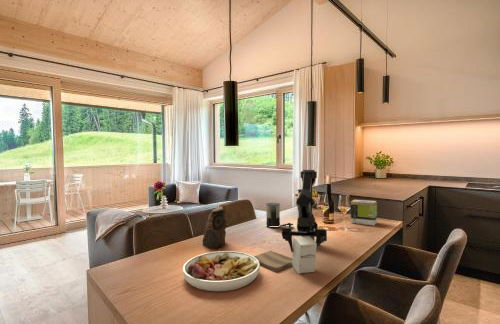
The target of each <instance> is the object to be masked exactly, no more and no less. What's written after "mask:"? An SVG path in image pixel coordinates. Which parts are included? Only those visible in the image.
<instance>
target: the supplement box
mask: <svg viewBox="0 0 500 324" xmlns="http://www.w3.org/2000/svg"><path fill="white" fill-rule="evenodd" d="M292 245H293V252H292V254H291V255H292V257H291V258H292V267H293V268H294V270H295V271H296V273H297V274H299V275H300V274H303V273H304V274H305V273H306V274H307V273H315V270H316V259H317V258H316V257H317V252H316V248H317V243H316V240H315V239H314V240H313V239H312V238H311V237H310V236H304V237H302V236H293V237H292Z"/></svg>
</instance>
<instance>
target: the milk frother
mask: <svg viewBox="0 0 500 324" xmlns="http://www.w3.org/2000/svg"><path fill="white" fill-rule="evenodd" d="M265 205H266V207H265V208H266V211H265V213H266V215H265V216H266V225H267V226H279V225H280V227H287V226H286V225H289V226H291V227H292V226H293V225H294V223H291V222H287V223H283V224H281V219H280V213H281V211H280V206H281V203H278V202H267V203H265Z"/></svg>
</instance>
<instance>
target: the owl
mask: <svg viewBox="0 0 500 324" xmlns="http://www.w3.org/2000/svg"><path fill="white" fill-rule="evenodd" d="M225 214H226V211H225V209H224V206H223V205H221V206H218V207H216V208H214V209H213V210H212V211H211V213H210V214H209V215H208V219H207V221H206V224H205V228H204V232H203V238H202V240H201V241H202V245H203V246H204V247H206V248H209V249H211V250H215V251H216V250H220V249H222V248H223V247H224V246H225V245H226V235H227V232H226V215H225Z"/></svg>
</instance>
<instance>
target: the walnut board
mask: <svg viewBox="0 0 500 324" xmlns="http://www.w3.org/2000/svg"><path fill="white" fill-rule="evenodd" d="M253 257H255V258H256V259H257V260H258V261H259V264H260V267H264V268H266V269H268V270H271V271H272V272H275V273H278V272H280V271H282V270H284V269H286V268H290V267H291V266H292V267H293V265H292V257H289V256H288V255H287V256H286V255H284V254H281V253H278V252H275V251H273V250H269V251H268V250H267V251H265V252H262V253H260V254H258V255H253Z"/></svg>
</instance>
